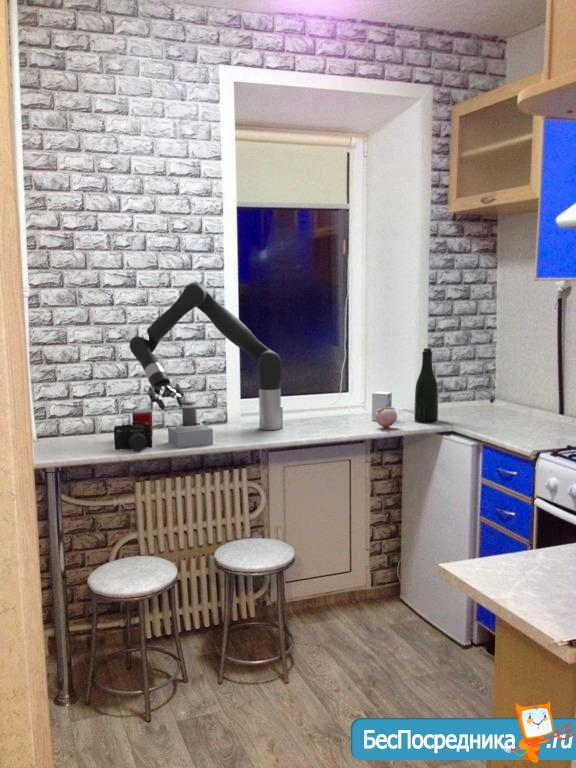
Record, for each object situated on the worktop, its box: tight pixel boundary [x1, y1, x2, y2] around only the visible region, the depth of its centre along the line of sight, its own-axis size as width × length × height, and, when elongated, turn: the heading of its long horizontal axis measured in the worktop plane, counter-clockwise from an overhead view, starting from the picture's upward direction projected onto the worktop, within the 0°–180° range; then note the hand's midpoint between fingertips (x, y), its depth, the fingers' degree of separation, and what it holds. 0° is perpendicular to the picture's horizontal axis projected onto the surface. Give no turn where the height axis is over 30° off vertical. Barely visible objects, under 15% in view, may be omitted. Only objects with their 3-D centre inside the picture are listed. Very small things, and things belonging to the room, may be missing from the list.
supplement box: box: [371, 391, 393, 422], centre depth 307 cm, size 7×7×13 cm
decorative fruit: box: [375, 405, 398, 429], centre depth 288 cm, size 9×8×10 cm
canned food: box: [131, 408, 154, 436], centre depth 273 cm, size 8×8×11 cm
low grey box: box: [167, 421, 214, 449], centre depth 261 cm, size 14×12×8 cm
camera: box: [113, 421, 153, 452], centre depth 251 cm, size 14×11×10 cm
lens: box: [181, 401, 197, 426], centre depth 260 cm, size 5×5×10 cm
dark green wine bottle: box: [413, 347, 439, 424], centre depth 301 cm, size 10×10×33 cm
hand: (173, 407), depth 268 cm, fingers open, 8 cm apart
